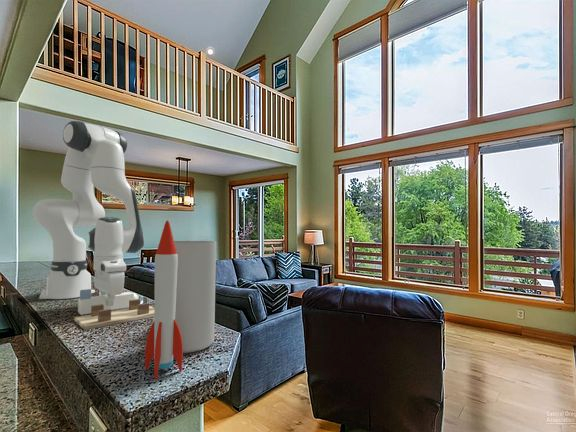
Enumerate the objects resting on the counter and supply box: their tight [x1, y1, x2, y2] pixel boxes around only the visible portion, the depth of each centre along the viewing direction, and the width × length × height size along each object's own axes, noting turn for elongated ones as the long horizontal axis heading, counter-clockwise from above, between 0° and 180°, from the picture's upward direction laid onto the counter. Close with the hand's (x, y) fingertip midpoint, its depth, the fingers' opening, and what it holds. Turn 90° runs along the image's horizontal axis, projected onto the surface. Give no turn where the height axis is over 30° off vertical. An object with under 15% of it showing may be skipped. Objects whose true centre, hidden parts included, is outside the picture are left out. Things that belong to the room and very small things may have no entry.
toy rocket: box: [144, 220, 184, 380], centre depth 64 cm, size 6×6×30 cm
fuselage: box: [77, 288, 139, 316], centre depth 110 cm, size 4×18×8 cm, turn 135°
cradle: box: [73, 298, 154, 331], centre depth 99 cm, size 12×22×4 cm, turn 135°
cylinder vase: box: [174, 240, 217, 354], centre depth 78 cm, size 12×12×25 cm
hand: (107, 304), depth 109 cm, fingers closed on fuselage, 4 cm apart
